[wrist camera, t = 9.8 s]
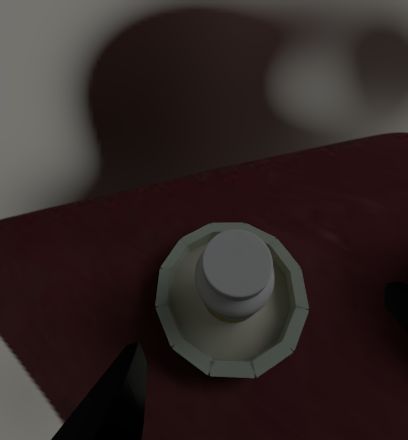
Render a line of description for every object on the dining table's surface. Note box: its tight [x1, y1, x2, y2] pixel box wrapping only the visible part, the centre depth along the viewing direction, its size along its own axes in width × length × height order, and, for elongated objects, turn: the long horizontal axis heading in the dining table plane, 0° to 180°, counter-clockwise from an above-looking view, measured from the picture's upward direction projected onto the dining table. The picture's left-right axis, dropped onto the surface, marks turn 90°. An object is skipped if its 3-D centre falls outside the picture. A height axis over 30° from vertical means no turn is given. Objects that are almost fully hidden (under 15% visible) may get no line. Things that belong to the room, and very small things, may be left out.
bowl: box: [155, 223, 309, 378], centre depth 20 cm, size 13×13×2 cm
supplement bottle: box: [195, 229, 275, 323], centre depth 16 cm, size 5×5×10 cm
